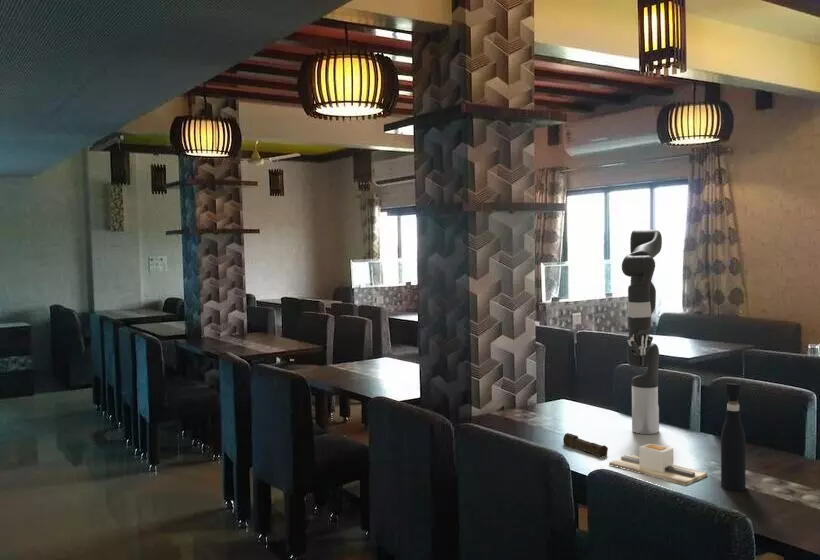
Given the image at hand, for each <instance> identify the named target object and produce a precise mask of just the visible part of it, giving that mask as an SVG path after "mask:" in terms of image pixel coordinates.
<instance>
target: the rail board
mask: <svg viewBox="0 0 820 560" xmlns="http://www.w3.org/2000/svg"><path fill="white" fill-rule="evenodd" d="M608 463H609V465H608V466H610V465H613V466H612V467H614V466H618V467H622V468H625V469H629V470H633V471H636V472H635V473H637V472H640V473H643V474H642V475H644V474H646V475H645V476H648V475H650V476H649V477H652V476H654V477H653V478H656V477H657V479H660V478H661V480H663V479H664V481H667V480H668V482H671V481H672V482H671V483H675V484H680V485H683V486H688V485H689V484H692V483H694V482H697V481H699V480H701V479H704V478H706V477H707V476H708V473H707V472H704V471H700V470H696V469H692V468H688V467H684V466H680V465H675V464H674V467H671V466H668V467H666V468H665V472H663V473H662V472H658V471H654V470H651V469H647V468H643V467H639V456H638V455H633V454H629V455H625V454H624V455H622V456H620V458H617V459H615V460H611V461H609V462H608ZM625 469H624V470H625ZM629 470H628V471H629ZM633 471H632V472H633ZM640 473H639V474H640Z"/></svg>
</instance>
